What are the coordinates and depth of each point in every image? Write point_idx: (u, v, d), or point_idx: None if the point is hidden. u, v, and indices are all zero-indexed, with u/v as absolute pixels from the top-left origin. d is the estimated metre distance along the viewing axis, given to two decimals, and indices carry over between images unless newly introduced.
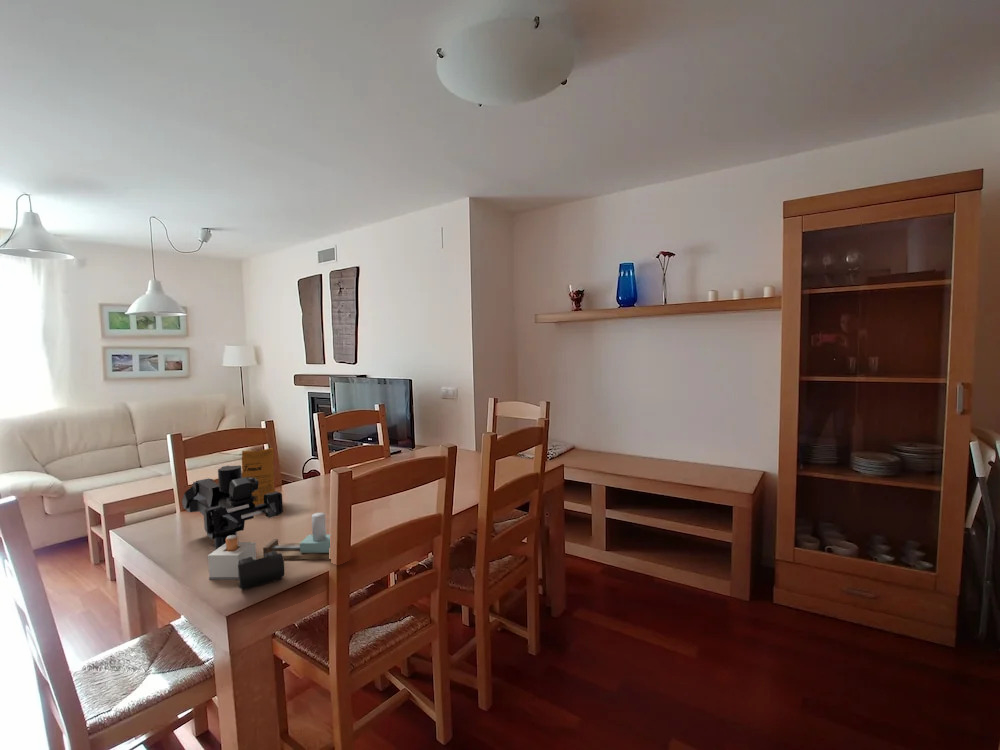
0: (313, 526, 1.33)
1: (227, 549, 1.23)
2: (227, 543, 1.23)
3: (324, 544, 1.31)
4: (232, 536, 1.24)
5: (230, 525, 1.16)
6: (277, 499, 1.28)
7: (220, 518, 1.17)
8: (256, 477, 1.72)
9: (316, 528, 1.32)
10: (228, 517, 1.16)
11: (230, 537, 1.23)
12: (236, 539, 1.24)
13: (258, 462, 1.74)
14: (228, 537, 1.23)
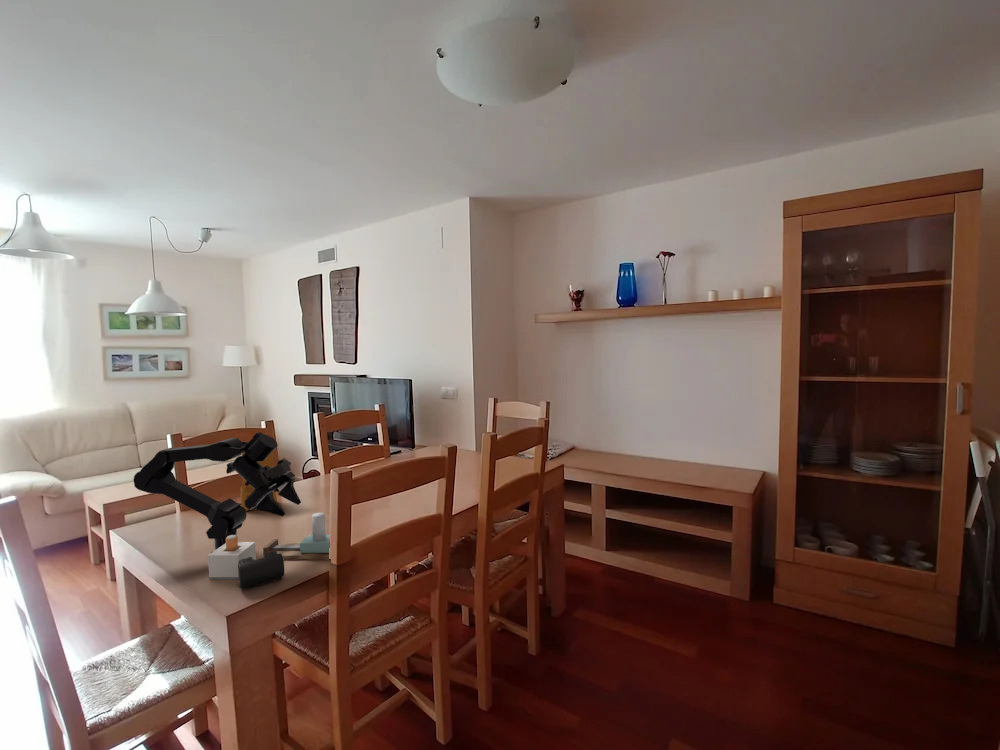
0: (313, 526, 1.33)
1: (227, 549, 1.23)
2: (227, 543, 1.23)
3: (324, 544, 1.31)
4: (232, 536, 1.24)
5: (274, 511, 1.29)
6: None
7: (265, 500, 1.28)
8: None
9: (316, 528, 1.32)
10: (276, 504, 1.29)
11: (230, 537, 1.23)
12: (236, 539, 1.24)
13: None
14: (228, 537, 1.23)
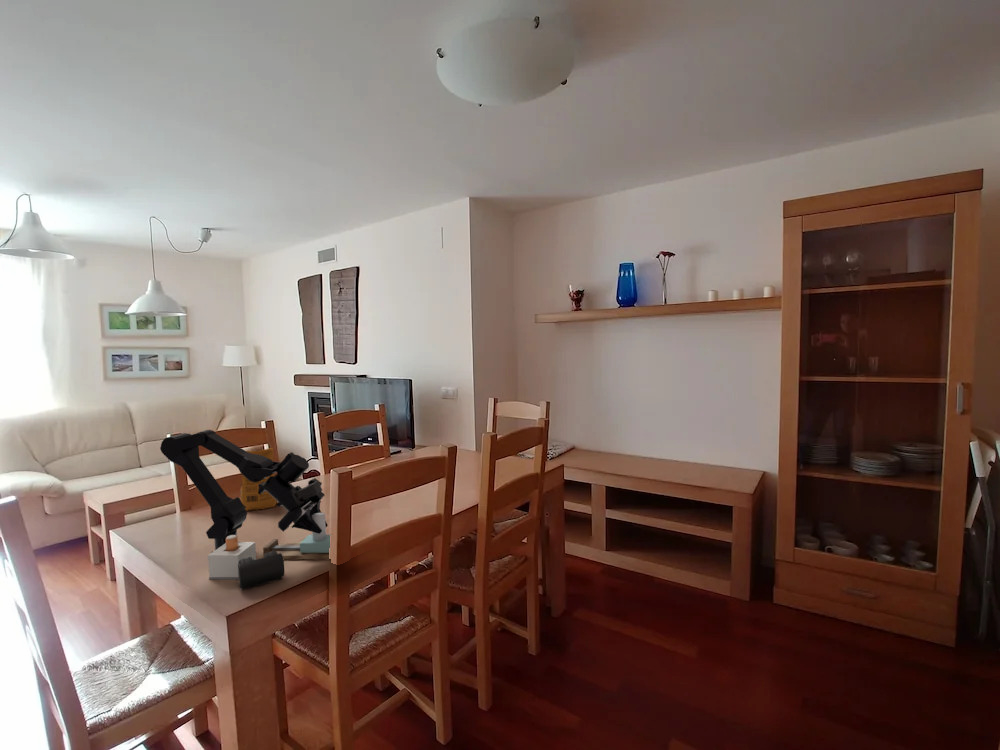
0: None
1: (227, 549, 1.23)
2: (227, 543, 1.23)
3: (324, 544, 1.31)
4: (232, 536, 1.24)
5: (311, 529, 1.31)
6: None
7: (302, 518, 1.30)
8: None
9: None
10: (312, 521, 1.31)
11: (230, 537, 1.23)
12: (236, 539, 1.24)
13: None
14: (228, 537, 1.23)
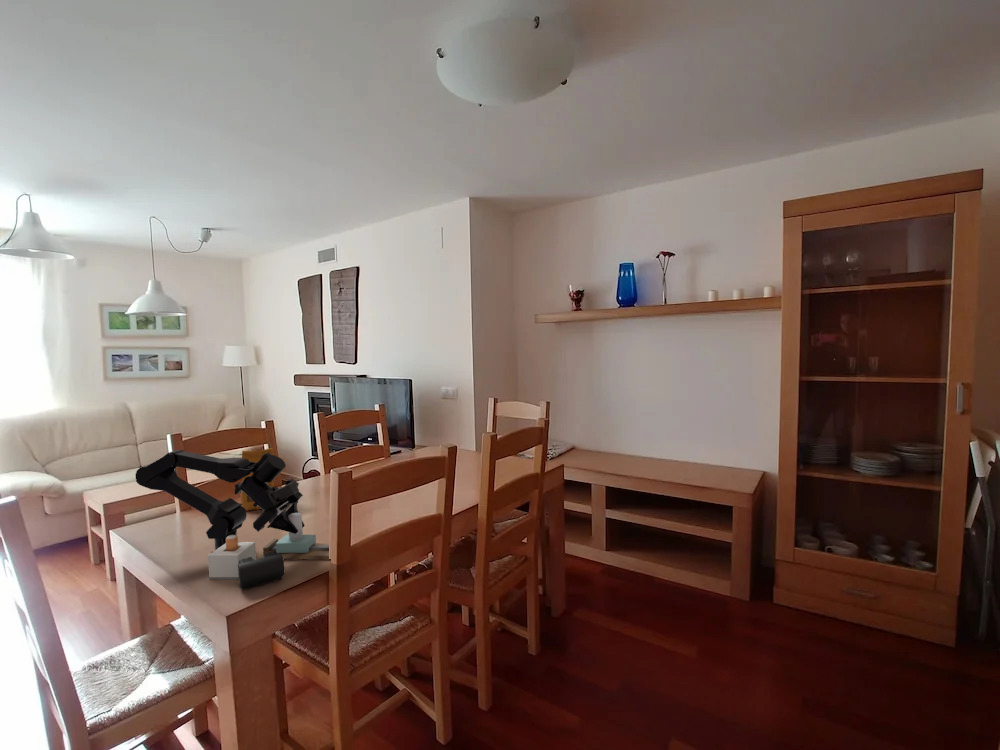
0: None
1: (227, 549, 1.23)
2: (227, 543, 1.23)
3: (300, 544, 1.32)
4: (232, 536, 1.24)
5: (287, 529, 1.32)
6: None
7: (278, 518, 1.30)
8: None
9: None
10: (288, 522, 1.31)
11: (230, 537, 1.23)
12: (236, 539, 1.24)
13: None
14: (228, 537, 1.23)
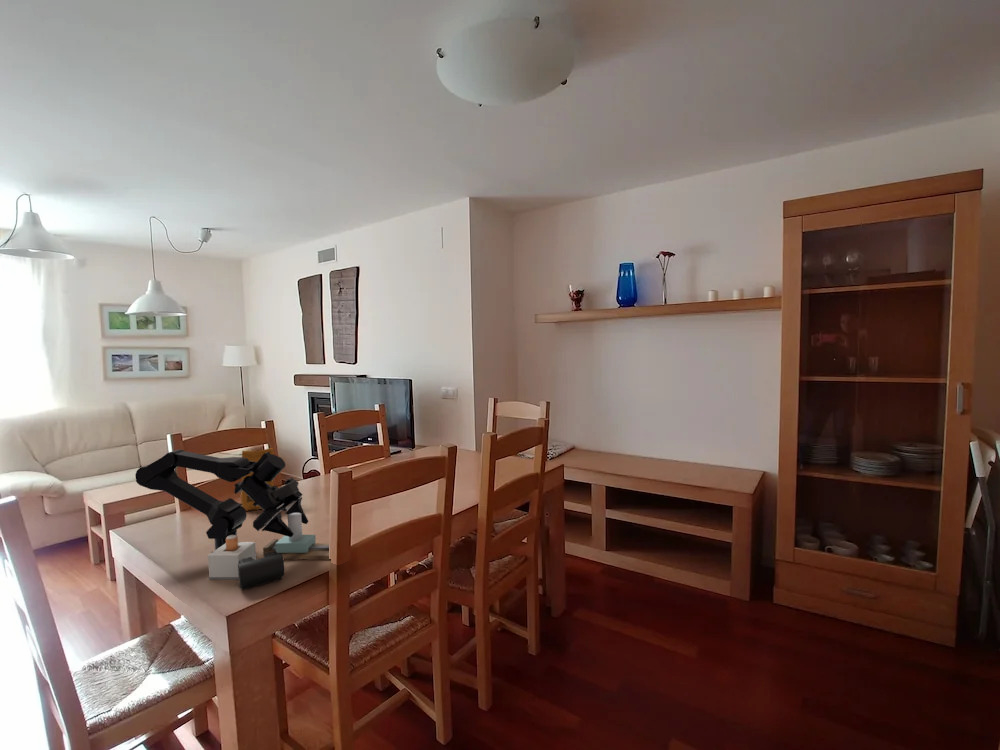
0: (289, 526, 1.33)
1: (227, 549, 1.23)
2: (227, 543, 1.23)
3: (300, 544, 1.32)
4: (232, 536, 1.24)
5: (282, 532, 1.29)
6: None
7: (273, 521, 1.28)
8: None
9: (292, 528, 1.33)
10: (284, 525, 1.29)
11: (230, 537, 1.23)
12: (236, 539, 1.24)
13: None
14: (228, 537, 1.23)
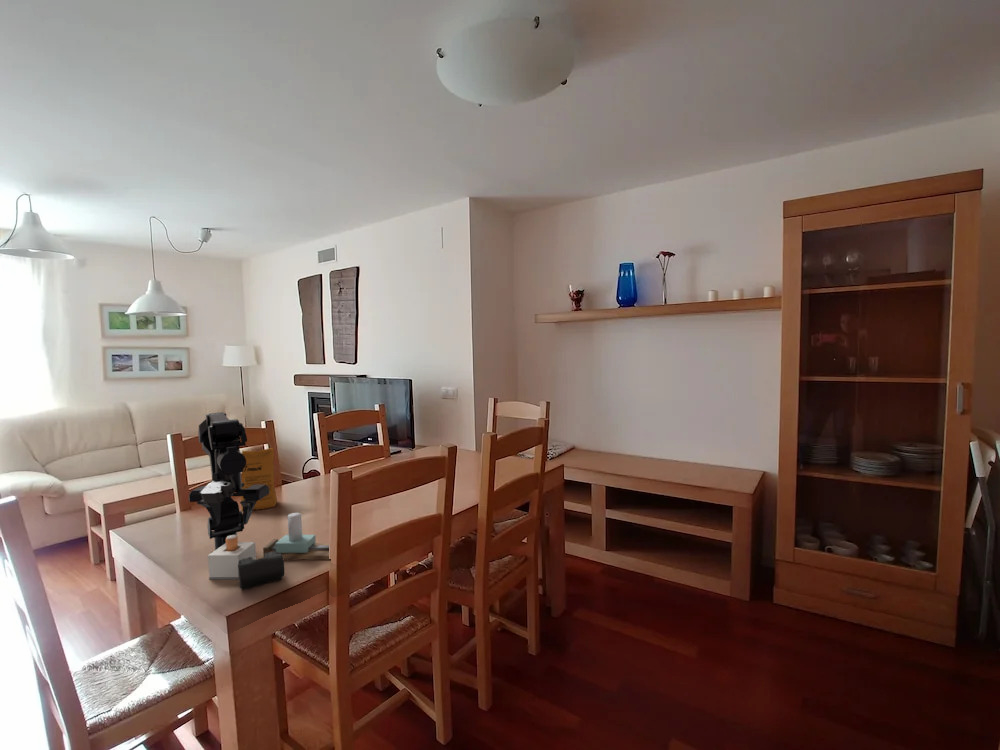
0: (289, 526, 1.33)
1: (227, 549, 1.23)
2: (227, 543, 1.23)
3: (300, 544, 1.32)
4: (232, 536, 1.24)
5: None
6: None
7: None
8: (256, 477, 1.72)
9: (292, 528, 1.33)
10: (210, 512, 1.23)
11: (230, 537, 1.23)
12: (236, 539, 1.24)
13: (258, 462, 1.74)
14: (228, 537, 1.23)
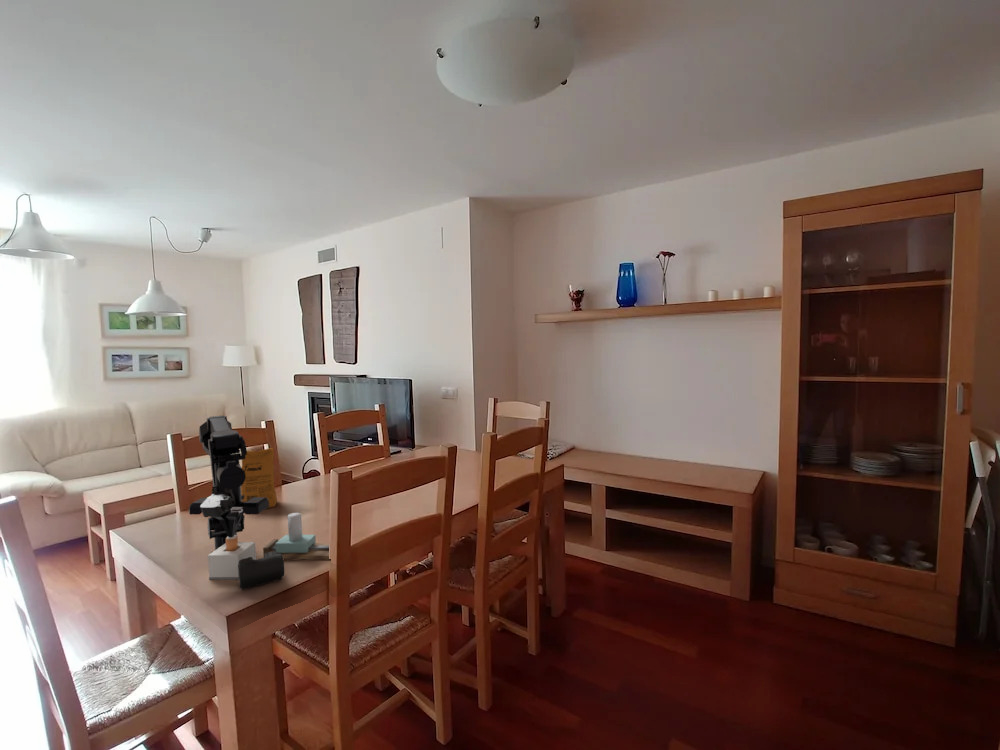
0: (289, 526, 1.33)
1: (227, 549, 1.23)
2: (227, 543, 1.23)
3: (300, 544, 1.32)
4: None
5: None
6: None
7: None
8: (256, 477, 1.72)
9: (292, 528, 1.33)
10: (223, 525, 1.23)
11: (230, 537, 1.23)
12: (236, 539, 1.24)
13: (258, 462, 1.74)
14: (228, 538, 1.23)
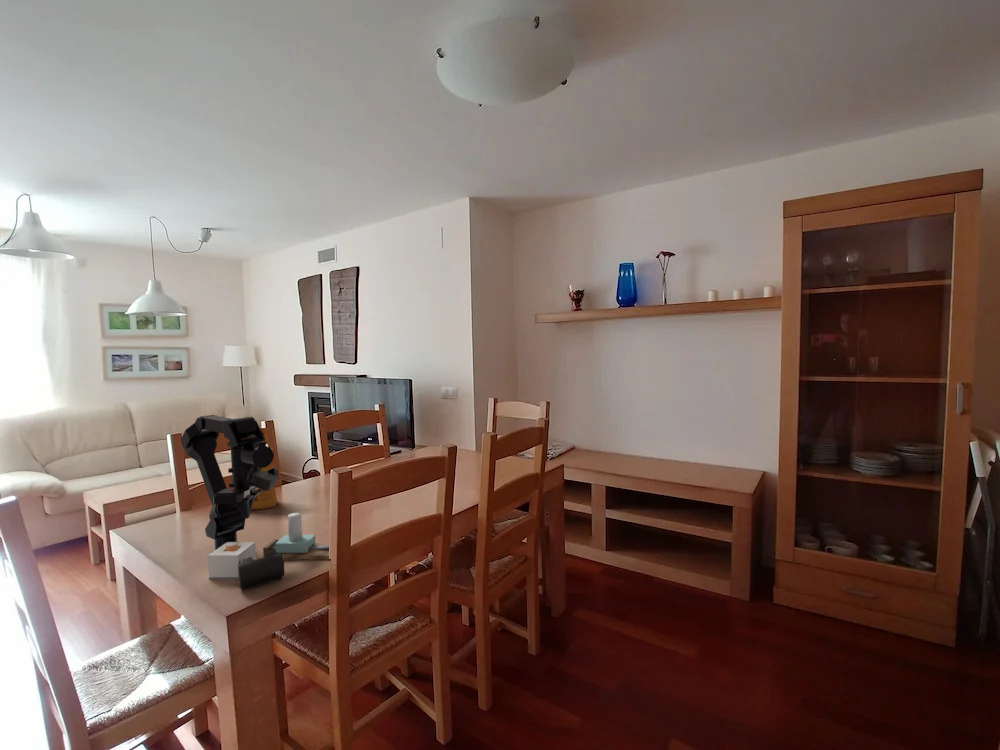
0: (289, 526, 1.33)
1: None
2: (227, 550, 1.23)
3: (300, 544, 1.32)
4: (232, 543, 1.24)
5: (241, 510, 1.27)
6: None
7: None
8: None
9: (292, 528, 1.33)
10: (247, 506, 1.27)
11: (230, 544, 1.24)
12: (236, 546, 1.24)
13: None
14: (228, 545, 1.23)
